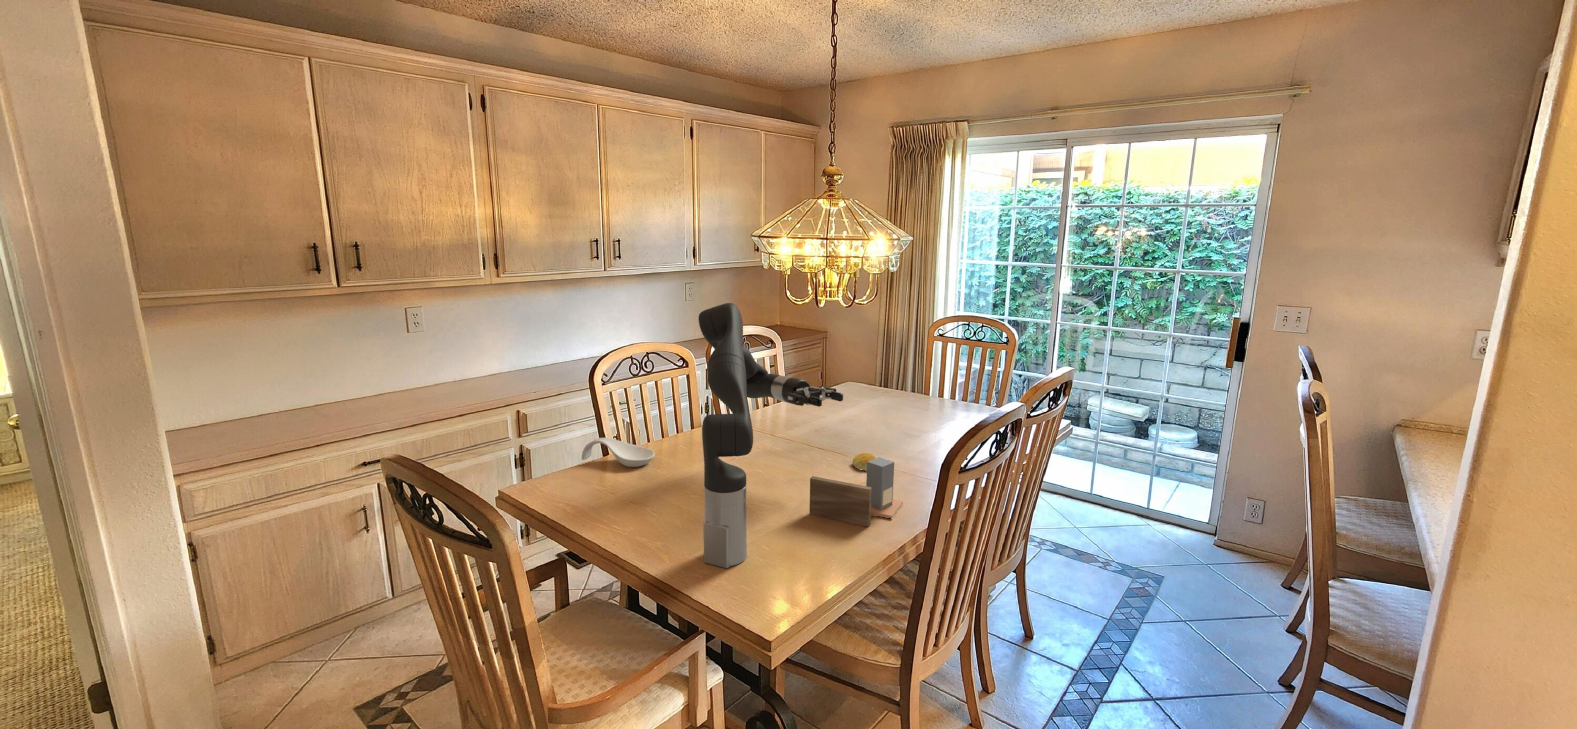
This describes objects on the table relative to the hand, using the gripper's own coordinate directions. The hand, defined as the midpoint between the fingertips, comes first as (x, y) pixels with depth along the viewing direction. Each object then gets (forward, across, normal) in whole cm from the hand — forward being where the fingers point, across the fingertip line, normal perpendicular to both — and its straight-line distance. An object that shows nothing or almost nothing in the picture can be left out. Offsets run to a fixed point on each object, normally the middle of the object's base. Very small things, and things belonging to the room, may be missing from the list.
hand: (831, 400), depth 174 cm
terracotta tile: (+15, +3, +27) cm, 31 cm away
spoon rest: (-62, -31, +27) cm, 74 cm away
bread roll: (-6, +24, +27) cm, 37 cm away
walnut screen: (+12, -10, +27) cm, 32 cm away
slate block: (+15, +3, +26) cm, 30 cm away
